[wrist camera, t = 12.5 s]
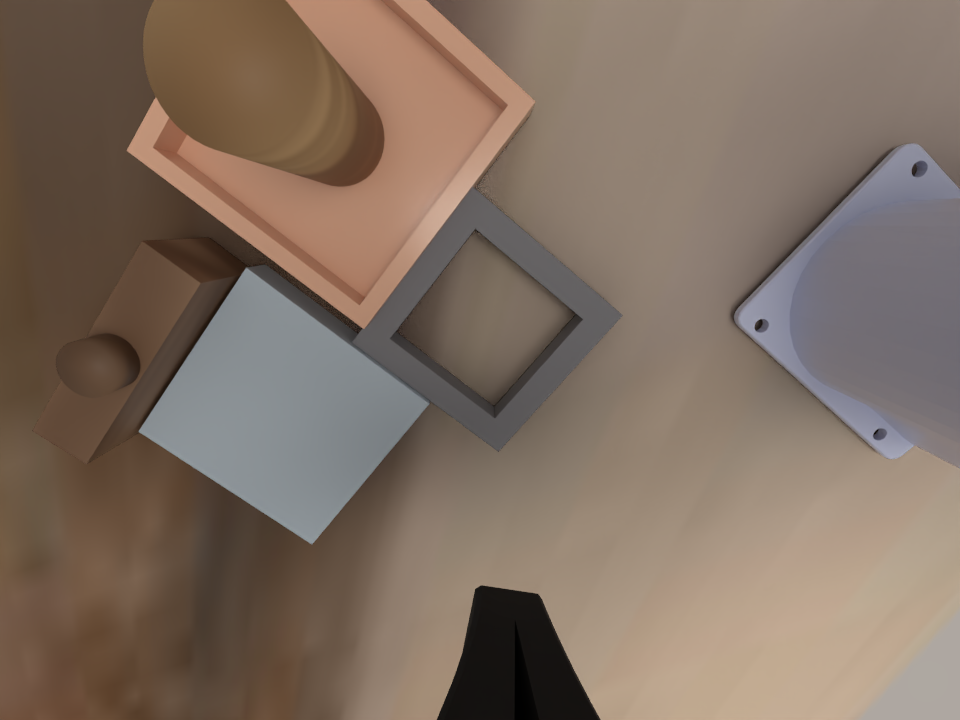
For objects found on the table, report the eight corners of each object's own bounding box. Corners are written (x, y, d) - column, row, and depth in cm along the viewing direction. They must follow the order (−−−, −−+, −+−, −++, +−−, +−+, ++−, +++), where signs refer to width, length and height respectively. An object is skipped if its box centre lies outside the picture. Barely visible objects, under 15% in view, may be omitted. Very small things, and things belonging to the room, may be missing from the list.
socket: (613, 309, 18) (622, 315, 17) (497, 438, 19) (498, 451, 18) (471, 187, 17) (470, 184, 15) (360, 335, 18) (351, 342, 17)
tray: (530, 114, 16) (535, 101, 14) (375, 319, 18) (363, 329, 16) (305, -92, 14) (281, -134, 13) (164, 158, 16) (126, 150, 15)
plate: (434, 386, 19) (429, 404, 17) (327, 515, 21) (311, 544, 19) (271, 263, 18) (246, 267, 16) (172, 411, 20) (138, 431, 18)
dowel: (404, 140, 16) (346, 70, 9) (338, 206, 16) (237, 188, 9) (335, 60, 15) (217, -80, 8) (269, 131, 16) (108, 55, 9)
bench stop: (255, 272, 18) (180, 287, 13) (155, 422, 19) (61, 479, 15) (208, 237, 17) (116, 242, 13) (112, 394, 19) (2, 444, 15)
